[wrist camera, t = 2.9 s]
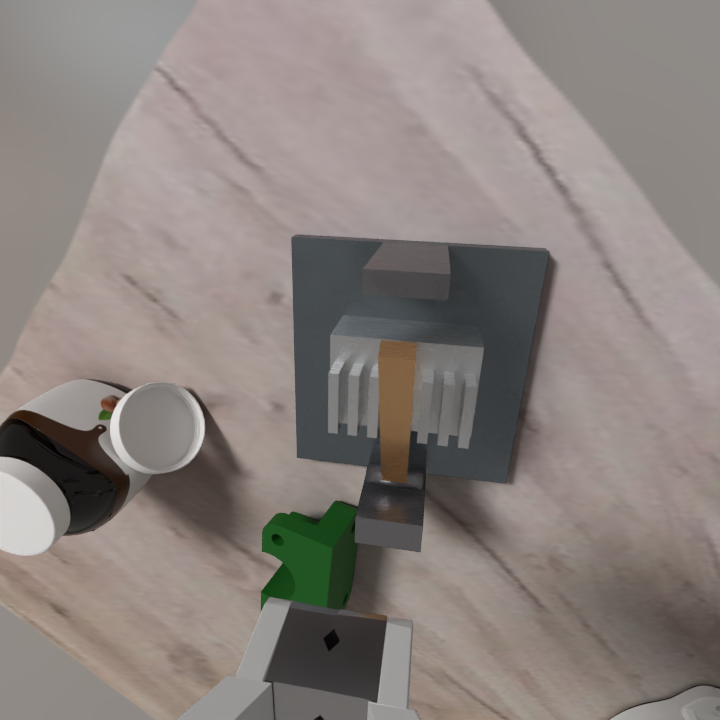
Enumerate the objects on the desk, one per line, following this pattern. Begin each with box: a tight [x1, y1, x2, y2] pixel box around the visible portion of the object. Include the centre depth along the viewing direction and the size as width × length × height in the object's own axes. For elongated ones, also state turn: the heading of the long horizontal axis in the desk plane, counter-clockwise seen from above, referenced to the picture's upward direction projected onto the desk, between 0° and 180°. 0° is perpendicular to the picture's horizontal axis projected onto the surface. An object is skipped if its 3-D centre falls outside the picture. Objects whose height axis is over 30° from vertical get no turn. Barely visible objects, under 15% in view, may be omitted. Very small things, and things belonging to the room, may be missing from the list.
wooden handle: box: [366, 340, 424, 490], centre depth 25 cm, size 4×13×1 cm, turn 178°
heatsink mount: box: [292, 235, 549, 552], centre depth 29 cm, size 16×17×10 cm
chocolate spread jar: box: [0, 379, 205, 556], centre depth 33 cm, size 12×11×12 cm
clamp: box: [261, 501, 358, 611], centre depth 39 cm, size 12×6×9 cm, turn 169°
